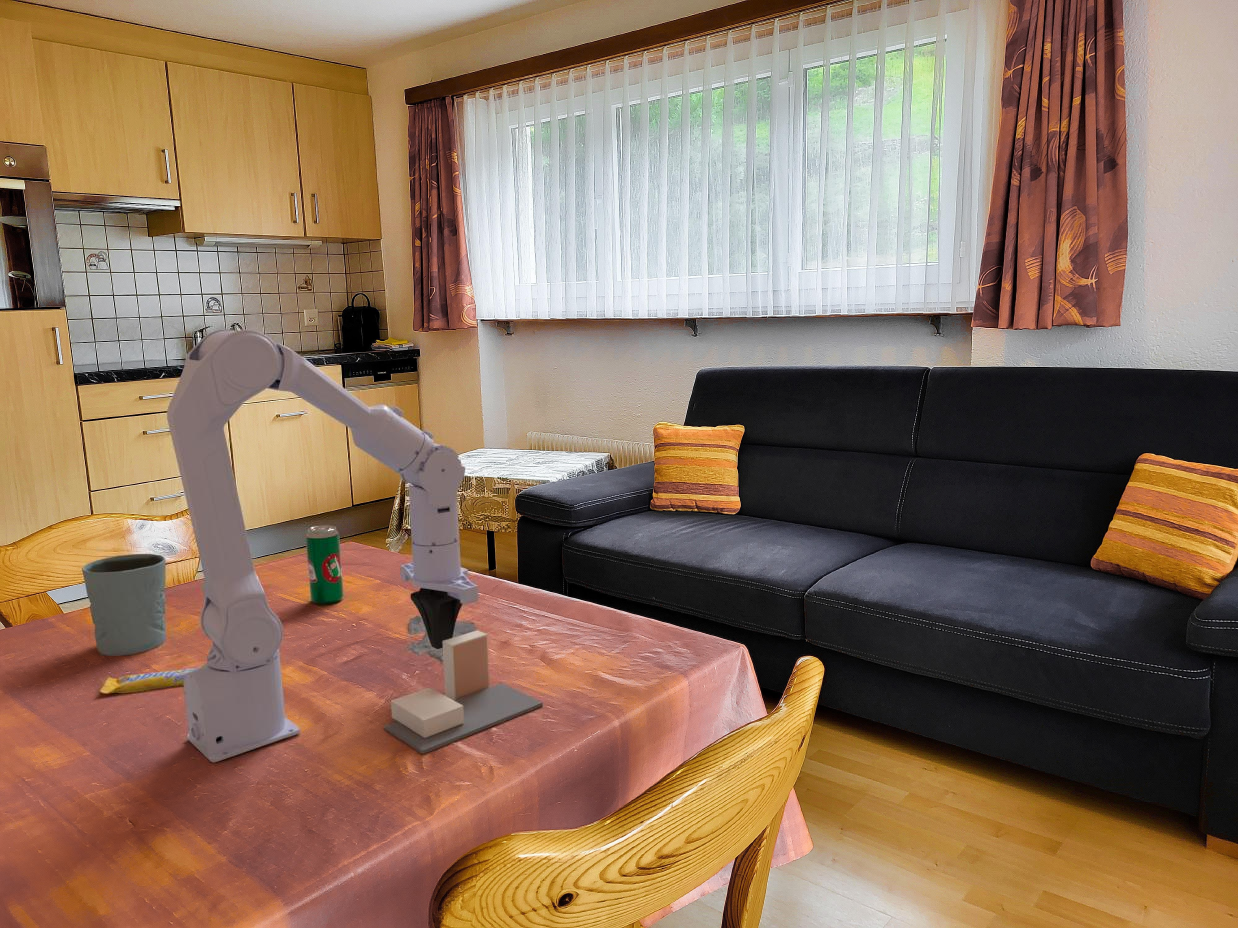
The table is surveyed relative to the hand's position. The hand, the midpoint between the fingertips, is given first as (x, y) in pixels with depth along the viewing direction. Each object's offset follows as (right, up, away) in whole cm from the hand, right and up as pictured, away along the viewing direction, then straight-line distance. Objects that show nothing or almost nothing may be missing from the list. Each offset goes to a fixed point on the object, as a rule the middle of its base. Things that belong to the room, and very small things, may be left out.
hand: (441, 645), depth 110 cm
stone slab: (-3, -3, +14) cm, 15 cm away
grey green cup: (-47, -3, +15) cm, 49 cm away
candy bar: (-34, -6, +2) cm, 34 cm away
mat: (+5, -6, -10) cm, 12 cm away
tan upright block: (+4, -5, -3) cm, 7 cm away
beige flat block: (-2, -5, -9) cm, 10 cm away
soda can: (-25, 0, +33) cm, 41 cm away
